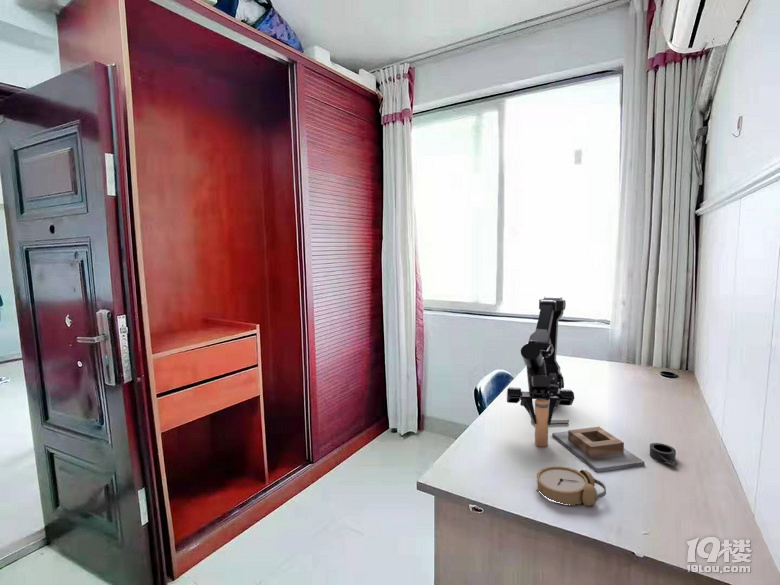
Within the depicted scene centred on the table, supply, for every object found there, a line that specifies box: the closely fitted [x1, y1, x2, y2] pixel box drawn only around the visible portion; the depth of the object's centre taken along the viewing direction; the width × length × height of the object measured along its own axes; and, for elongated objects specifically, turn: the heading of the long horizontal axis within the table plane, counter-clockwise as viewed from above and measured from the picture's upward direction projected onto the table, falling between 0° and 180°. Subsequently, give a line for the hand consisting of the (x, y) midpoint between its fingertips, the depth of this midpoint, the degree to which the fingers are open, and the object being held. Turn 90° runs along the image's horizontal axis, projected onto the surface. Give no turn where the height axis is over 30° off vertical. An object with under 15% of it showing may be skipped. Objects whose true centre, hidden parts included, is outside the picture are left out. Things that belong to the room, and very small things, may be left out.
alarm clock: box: [535, 465, 607, 507], centre depth 93 cm, size 11×5×15 cm
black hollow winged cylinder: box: [648, 442, 678, 467], centre depth 107 cm, size 8×10×3 cm
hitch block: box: [551, 426, 646, 473], centre depth 112 cm, size 20×14×4 cm
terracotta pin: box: [534, 399, 549, 447], centre depth 115 cm, size 4×4×13 cm
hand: (542, 424), depth 113 cm, fingers closed on terracotta pin, 4 cm apart
